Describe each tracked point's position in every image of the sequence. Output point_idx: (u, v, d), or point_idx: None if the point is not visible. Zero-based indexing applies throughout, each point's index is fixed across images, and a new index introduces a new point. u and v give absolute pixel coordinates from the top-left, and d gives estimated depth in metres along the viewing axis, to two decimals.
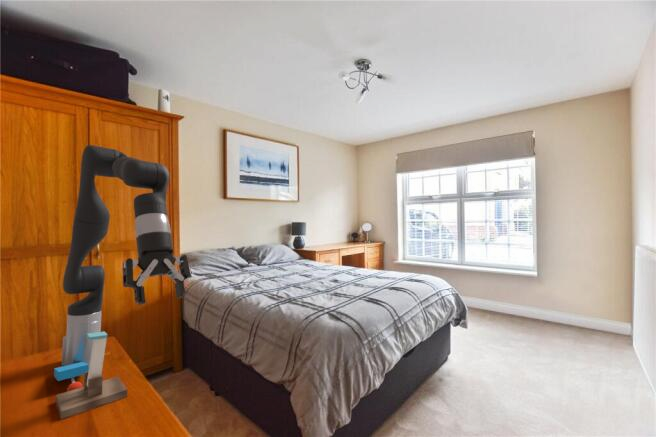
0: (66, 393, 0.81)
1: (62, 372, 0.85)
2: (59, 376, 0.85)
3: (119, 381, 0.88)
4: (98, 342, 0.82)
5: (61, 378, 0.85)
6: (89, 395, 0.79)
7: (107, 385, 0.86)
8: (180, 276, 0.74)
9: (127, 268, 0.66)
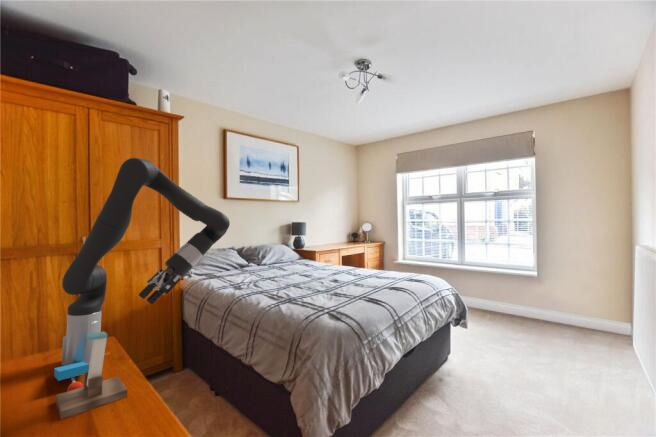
0: (66, 393, 0.81)
1: (62, 372, 0.86)
2: (59, 375, 0.85)
3: (119, 381, 0.88)
4: (98, 342, 0.82)
5: (61, 378, 0.85)
6: (89, 395, 0.79)
7: (107, 385, 0.86)
8: None
9: (175, 284, 0.91)
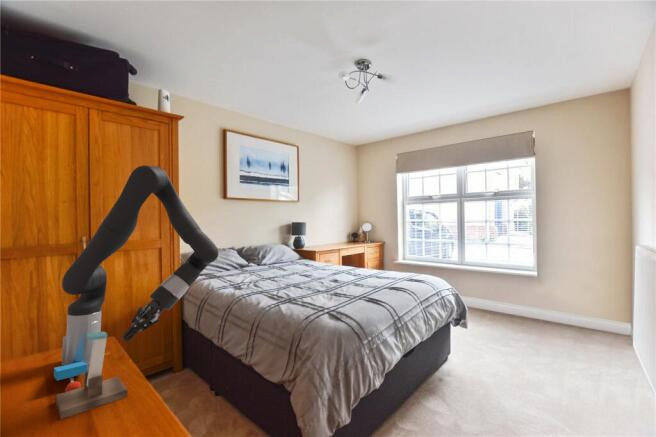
0: (66, 393, 0.81)
1: (61, 372, 0.85)
2: (58, 375, 0.85)
3: (119, 381, 0.88)
4: (98, 342, 0.82)
5: (60, 378, 0.85)
6: (89, 395, 0.79)
7: (107, 385, 0.86)
8: None
9: (152, 324, 0.89)
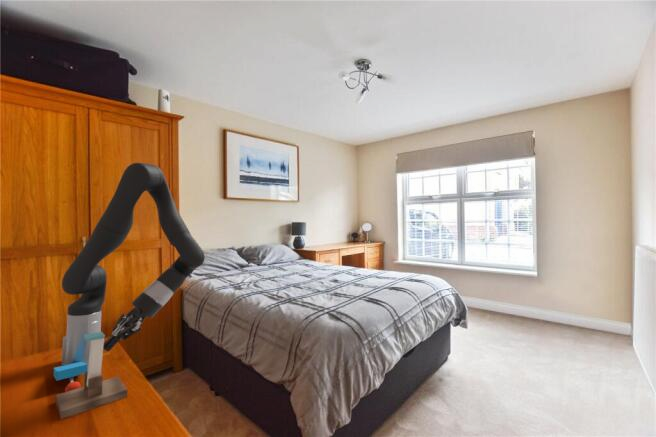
0: (66, 393, 0.81)
1: (61, 372, 0.86)
2: (58, 375, 0.85)
3: (119, 381, 0.88)
4: (95, 342, 0.82)
5: (59, 378, 0.85)
6: (89, 395, 0.79)
7: (107, 385, 0.86)
8: None
9: (134, 333, 0.85)
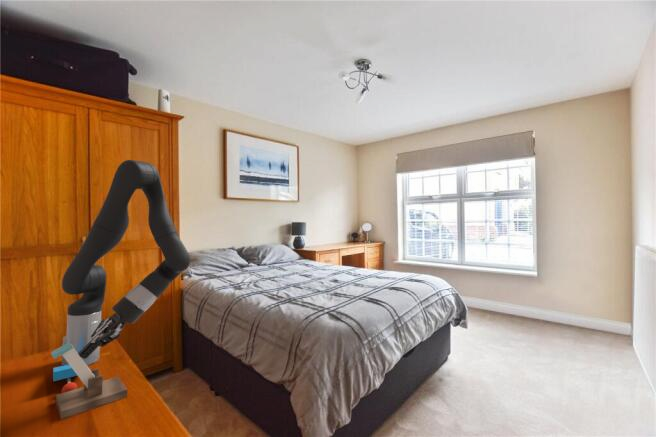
0: (66, 393, 0.81)
1: (58, 372, 0.85)
2: (55, 376, 0.85)
3: (119, 381, 0.88)
4: (66, 355, 0.77)
5: (56, 378, 0.85)
6: (89, 395, 0.79)
7: (107, 385, 0.86)
8: None
9: (112, 340, 0.82)
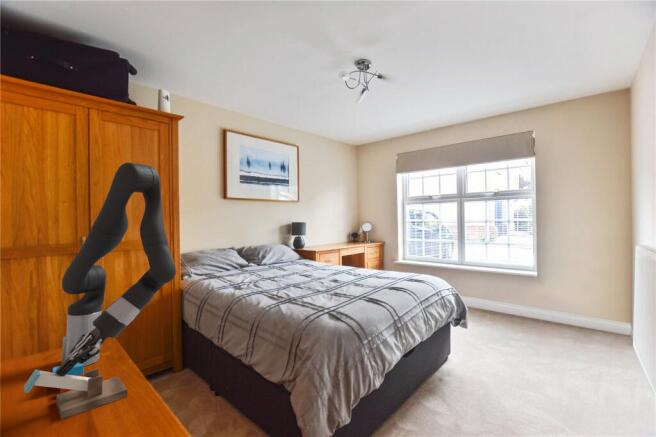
0: (66, 393, 0.81)
1: None
2: None
3: (119, 381, 0.88)
4: (40, 382, 0.73)
5: None
6: (89, 395, 0.79)
7: (107, 385, 0.86)
8: None
9: (92, 356, 0.78)
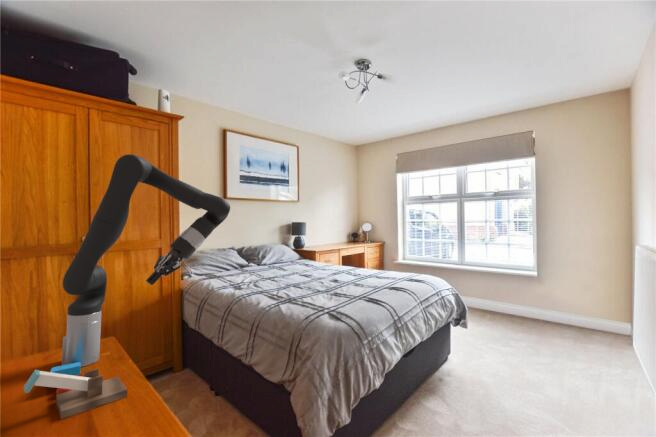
0: (66, 393, 0.81)
1: None
2: None
3: (119, 381, 0.88)
4: (40, 383, 0.73)
5: None
6: (89, 395, 0.79)
7: (107, 385, 0.86)
8: None
9: (174, 270, 0.97)
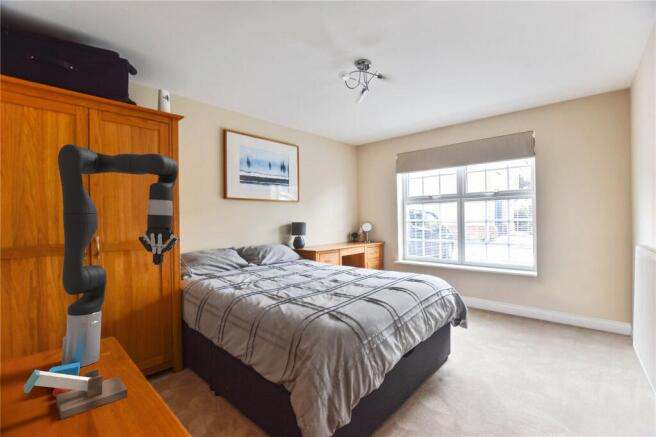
0: (66, 393, 0.81)
1: None
2: None
3: (119, 381, 0.88)
4: (40, 383, 0.73)
5: None
6: (89, 395, 0.79)
7: (107, 385, 0.86)
8: None
9: None
